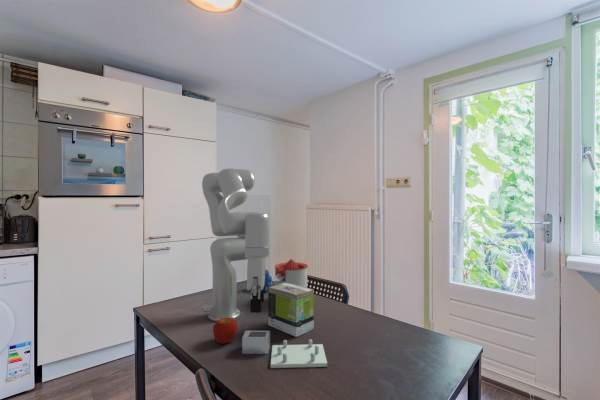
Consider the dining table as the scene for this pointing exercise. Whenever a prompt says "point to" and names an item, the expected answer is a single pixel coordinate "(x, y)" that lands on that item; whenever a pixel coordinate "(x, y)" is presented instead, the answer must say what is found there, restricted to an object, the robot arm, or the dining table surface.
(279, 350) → the white peg board
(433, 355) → the dining table surface
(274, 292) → the tea box
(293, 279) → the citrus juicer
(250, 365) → the dining table surface
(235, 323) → the apple
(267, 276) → the grapes
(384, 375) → the dining table surface
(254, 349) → the block
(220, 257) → the robot arm
